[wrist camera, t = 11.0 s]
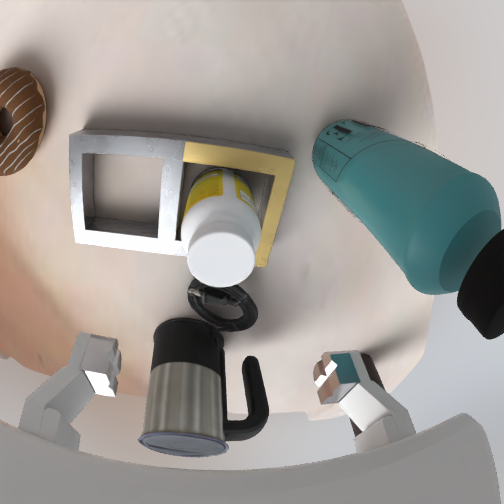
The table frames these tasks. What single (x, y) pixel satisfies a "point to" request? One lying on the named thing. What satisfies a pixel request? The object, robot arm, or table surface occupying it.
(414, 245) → the beverage bottle
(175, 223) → the grey compartment tray
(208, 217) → the supplement bottle
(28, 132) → the donut
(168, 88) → the table surface
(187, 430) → the milk frother
